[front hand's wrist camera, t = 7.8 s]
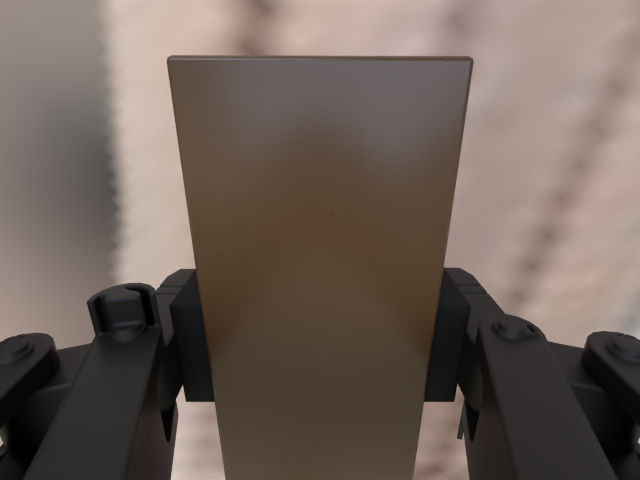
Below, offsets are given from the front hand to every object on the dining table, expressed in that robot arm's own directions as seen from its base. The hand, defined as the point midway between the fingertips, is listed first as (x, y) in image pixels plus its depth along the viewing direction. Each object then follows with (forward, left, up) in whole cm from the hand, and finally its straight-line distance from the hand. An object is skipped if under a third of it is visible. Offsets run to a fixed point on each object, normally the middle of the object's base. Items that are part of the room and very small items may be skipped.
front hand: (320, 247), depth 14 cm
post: (+24, +17, -1) cm, 29 cm away
